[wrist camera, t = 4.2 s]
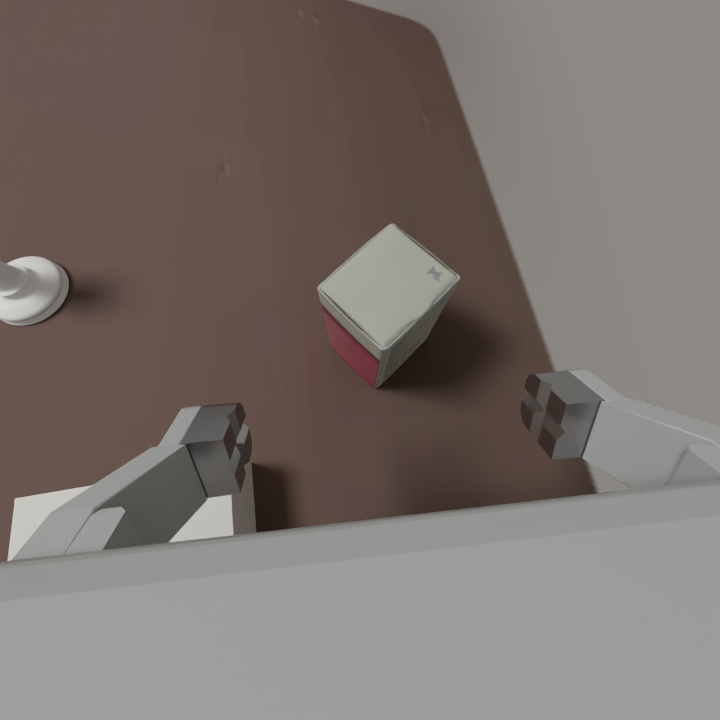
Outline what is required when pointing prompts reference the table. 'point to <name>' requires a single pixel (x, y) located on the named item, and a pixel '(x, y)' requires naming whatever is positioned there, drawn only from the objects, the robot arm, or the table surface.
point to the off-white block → (207, 522)
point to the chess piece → (31, 290)
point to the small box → (384, 303)
